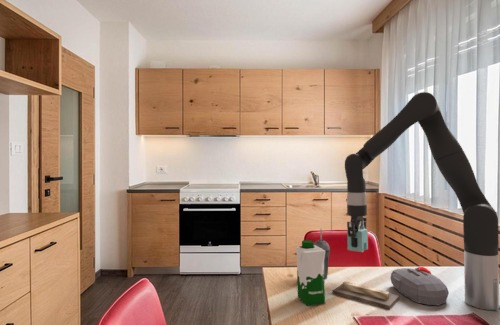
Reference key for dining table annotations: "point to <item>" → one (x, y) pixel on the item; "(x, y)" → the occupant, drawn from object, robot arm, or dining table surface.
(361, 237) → the saddle block
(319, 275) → the milk carton
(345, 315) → the dining table surface
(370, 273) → the dining table surface
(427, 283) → the soft grey pack
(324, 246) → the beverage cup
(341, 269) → the dining table surface
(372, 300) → the cleat board
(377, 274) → the dining table surface
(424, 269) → the cap
